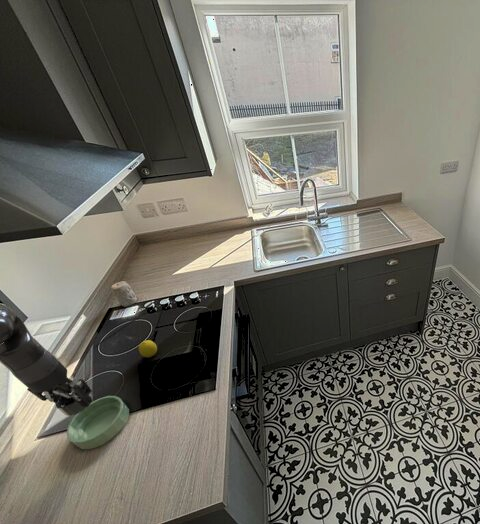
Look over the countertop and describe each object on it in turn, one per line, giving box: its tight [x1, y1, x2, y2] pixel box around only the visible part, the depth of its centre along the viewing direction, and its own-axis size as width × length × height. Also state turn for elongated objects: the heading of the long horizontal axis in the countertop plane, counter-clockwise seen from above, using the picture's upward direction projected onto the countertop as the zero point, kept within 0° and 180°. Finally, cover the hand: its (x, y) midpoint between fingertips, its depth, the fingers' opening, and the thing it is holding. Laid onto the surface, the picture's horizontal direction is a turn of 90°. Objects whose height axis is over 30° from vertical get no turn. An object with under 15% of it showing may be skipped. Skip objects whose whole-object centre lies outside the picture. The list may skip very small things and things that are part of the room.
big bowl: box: [66, 395, 130, 450], centre depth 91 cm, size 14×14×5 cm
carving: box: [110, 280, 137, 308], centre depth 138 cm, size 6×8×12 cm
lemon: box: [138, 339, 158, 358], centre depth 113 cm, size 6×6×8 cm
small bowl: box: [55, 388, 92, 417], centre depth 84 cm, size 6×6×4 cm
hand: (77, 404), depth 84 cm, fingers closed on small bowl, 6 cm apart
